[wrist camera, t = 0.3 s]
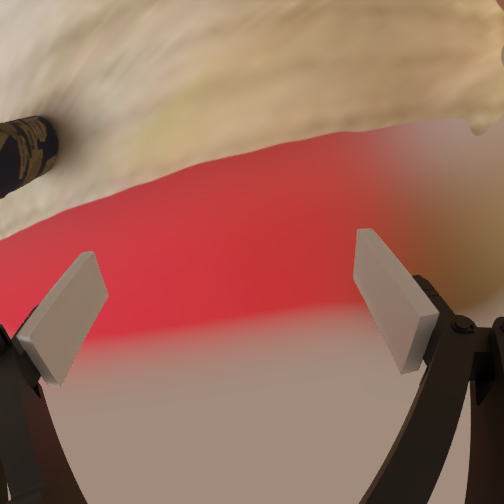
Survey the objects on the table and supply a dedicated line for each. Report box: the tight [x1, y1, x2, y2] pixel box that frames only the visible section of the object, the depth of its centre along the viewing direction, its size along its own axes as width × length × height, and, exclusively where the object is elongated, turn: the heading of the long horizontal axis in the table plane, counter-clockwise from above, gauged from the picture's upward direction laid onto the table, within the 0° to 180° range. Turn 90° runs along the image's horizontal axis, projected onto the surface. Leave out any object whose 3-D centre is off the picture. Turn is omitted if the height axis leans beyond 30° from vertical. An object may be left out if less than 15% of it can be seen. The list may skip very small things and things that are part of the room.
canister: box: [0, 116, 58, 199], centre depth 29 cm, size 10×10×18 cm
